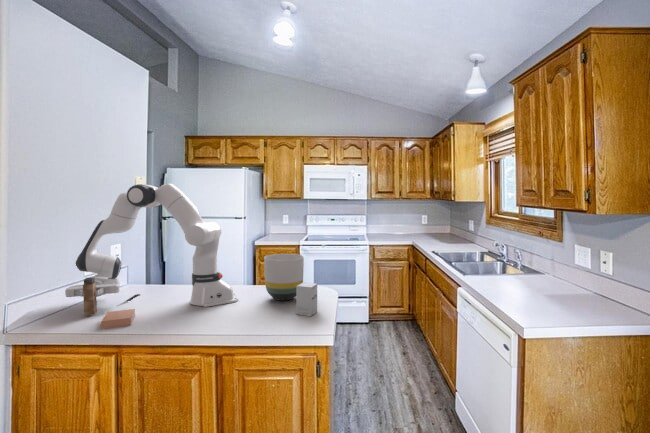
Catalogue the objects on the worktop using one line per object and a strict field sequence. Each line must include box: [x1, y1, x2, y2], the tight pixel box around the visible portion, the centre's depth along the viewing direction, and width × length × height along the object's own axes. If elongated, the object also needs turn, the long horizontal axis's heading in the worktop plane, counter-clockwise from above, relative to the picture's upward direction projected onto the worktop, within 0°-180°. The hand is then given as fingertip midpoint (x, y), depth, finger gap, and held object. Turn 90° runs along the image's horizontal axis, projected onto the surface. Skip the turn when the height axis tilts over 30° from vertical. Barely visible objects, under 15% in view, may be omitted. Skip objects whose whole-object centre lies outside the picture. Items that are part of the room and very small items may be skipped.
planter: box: [263, 253, 305, 302], centre depth 172 cm, size 20×20×21 cm
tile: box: [100, 308, 136, 330], centre depth 140 cm, size 10×3×12 cm
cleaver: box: [117, 293, 141, 307], centre depth 166 cm, size 29×1×10 cm
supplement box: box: [295, 282, 318, 317], centre depth 151 cm, size 7×7×13 cm
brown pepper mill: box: [82, 276, 98, 316], centre depth 148 cm, size 4×5×15 cm
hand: (89, 294), depth 147 cm, fingers open, 4 cm apart
